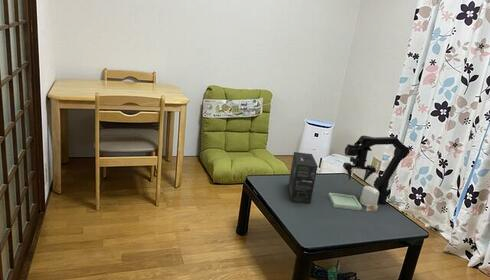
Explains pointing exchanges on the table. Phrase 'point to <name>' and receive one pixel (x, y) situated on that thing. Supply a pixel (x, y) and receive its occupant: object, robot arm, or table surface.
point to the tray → (344, 201)
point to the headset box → (302, 177)
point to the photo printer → (369, 196)
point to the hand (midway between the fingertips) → (356, 180)
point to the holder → (370, 207)
